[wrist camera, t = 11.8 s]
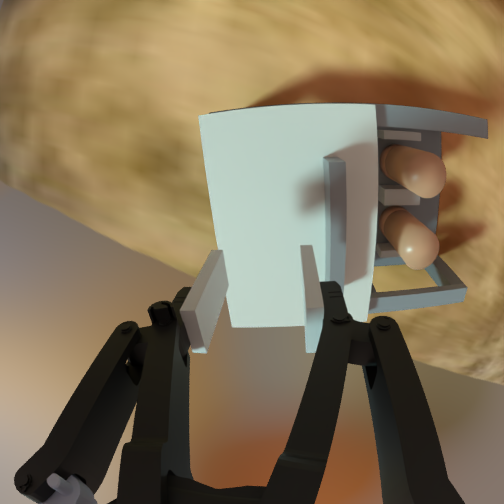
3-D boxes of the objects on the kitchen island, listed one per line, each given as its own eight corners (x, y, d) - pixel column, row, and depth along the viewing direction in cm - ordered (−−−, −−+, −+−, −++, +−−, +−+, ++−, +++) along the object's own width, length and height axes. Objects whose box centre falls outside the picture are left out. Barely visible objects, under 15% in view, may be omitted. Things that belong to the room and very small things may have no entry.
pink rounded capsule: (379, 143, 30) (408, 151, 22) (411, 144, 30) (446, 153, 21) (379, 179, 32) (407, 198, 24) (411, 179, 31) (444, 198, 23)
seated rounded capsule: (379, 205, 34) (405, 230, 25) (410, 205, 33) (442, 229, 25) (377, 238, 35) (400, 271, 27) (407, 237, 35) (435, 268, 27)
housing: (231, 116, 31) (209, 112, 22) (438, 116, 28) (487, 119, 18) (250, 270, 40) (239, 319, 30) (429, 260, 36) (463, 301, 27)
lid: (202, 116, 21) (186, 114, 18) (370, 105, 19) (388, 102, 16) (233, 320, 30) (227, 346, 26) (364, 314, 28) (372, 340, 24)
